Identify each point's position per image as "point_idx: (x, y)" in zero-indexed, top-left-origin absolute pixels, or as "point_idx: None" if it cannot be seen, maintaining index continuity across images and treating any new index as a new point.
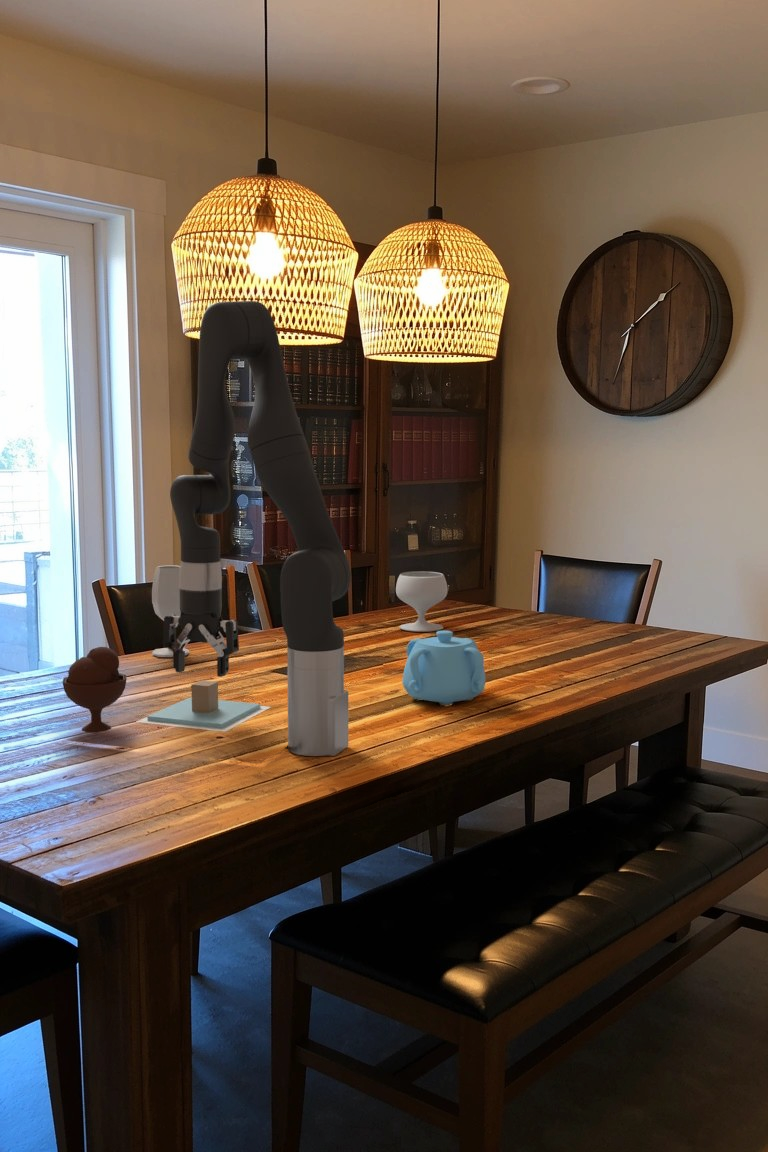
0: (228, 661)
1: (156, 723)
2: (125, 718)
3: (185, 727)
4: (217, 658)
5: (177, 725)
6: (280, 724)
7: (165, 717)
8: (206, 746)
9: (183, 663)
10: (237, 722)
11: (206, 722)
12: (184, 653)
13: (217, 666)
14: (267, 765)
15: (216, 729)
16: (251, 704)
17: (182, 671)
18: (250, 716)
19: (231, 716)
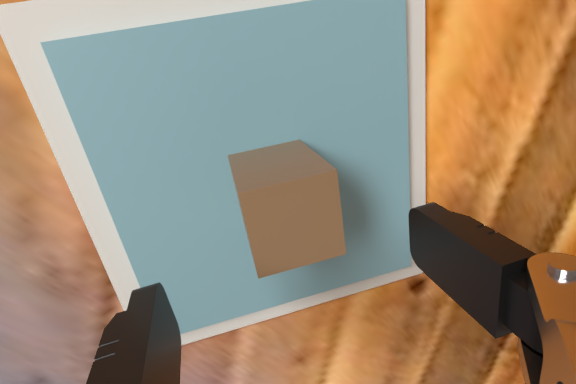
0: (513, 245)
1: (213, 330)
2: (43, 327)
3: (312, 305)
4: (489, 331)
5: (281, 308)
6: (509, 105)
7: (223, 315)
8: (424, 342)
9: (161, 325)
10: (413, 192)
11: (365, 279)
12: (147, 374)
13: (450, 295)
14: None
15: (396, 272)
16: (377, 14)
17: (167, 299)
18: (416, 114)
19: (396, 193)
